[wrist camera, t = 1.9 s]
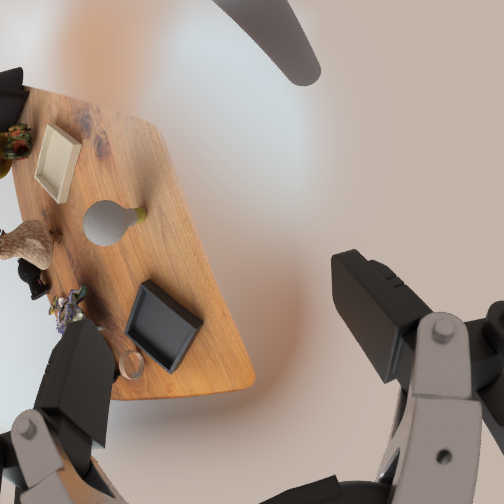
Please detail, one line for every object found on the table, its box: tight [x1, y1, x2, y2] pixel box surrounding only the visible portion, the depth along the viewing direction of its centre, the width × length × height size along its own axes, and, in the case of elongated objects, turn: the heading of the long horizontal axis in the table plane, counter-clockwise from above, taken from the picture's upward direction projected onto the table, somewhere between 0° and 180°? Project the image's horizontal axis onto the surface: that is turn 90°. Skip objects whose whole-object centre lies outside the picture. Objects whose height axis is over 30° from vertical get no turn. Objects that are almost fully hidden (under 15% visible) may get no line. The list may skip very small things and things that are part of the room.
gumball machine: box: [18, 258, 50, 300], centre depth 52 cm, size 7×6×10 cm
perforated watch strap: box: [119, 350, 145, 380], centre depth 45 cm, size 3×5×5 cm, turn 13°
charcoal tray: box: [124, 279, 204, 374], centre depth 42 cm, size 11×10×2 cm
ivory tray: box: [34, 124, 82, 204], centre depth 43 cm, size 11×11×2 cm
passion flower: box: [49, 285, 108, 339], centre depth 45 cm, size 11×11×12 cm
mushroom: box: [0, 123, 32, 179], centre depth 47 cm, size 12×12×15 cm
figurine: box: [0, 220, 62, 270], centre depth 42 cm, size 9×10×15 cm
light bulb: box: [83, 200, 146, 246], centre depth 35 cm, size 5×6×10 cm
